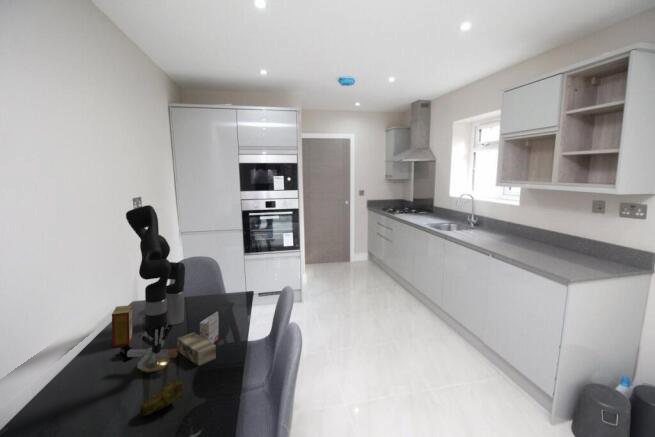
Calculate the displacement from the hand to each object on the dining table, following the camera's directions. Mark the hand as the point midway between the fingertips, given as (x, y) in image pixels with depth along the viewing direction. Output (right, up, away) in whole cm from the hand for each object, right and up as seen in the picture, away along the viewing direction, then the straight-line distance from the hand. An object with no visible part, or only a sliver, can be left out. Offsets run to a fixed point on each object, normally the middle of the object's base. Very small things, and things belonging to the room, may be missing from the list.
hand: (156, 352), depth 119 cm
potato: (+11, -12, -16) cm, 23 cm away
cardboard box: (+8, -9, +17) cm, 21 cm away
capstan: (-5, -9, +5) cm, 11 cm away
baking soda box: (-31, -6, +25) cm, 40 cm away
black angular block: (-21, -8, +13) cm, 26 cm away
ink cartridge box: (+10, -8, +28) cm, 30 cm away
